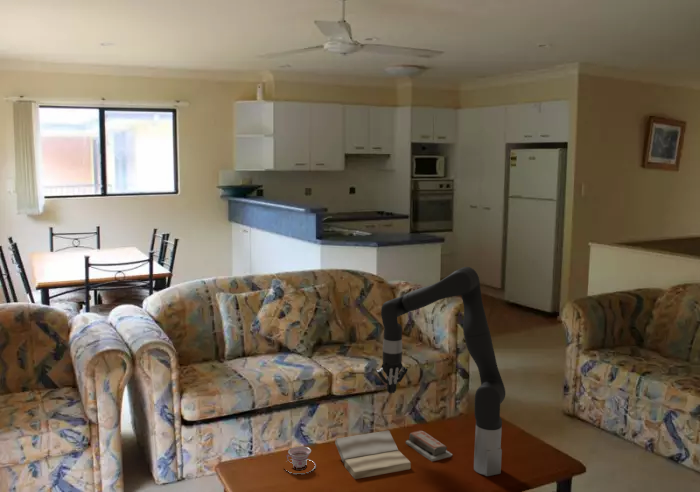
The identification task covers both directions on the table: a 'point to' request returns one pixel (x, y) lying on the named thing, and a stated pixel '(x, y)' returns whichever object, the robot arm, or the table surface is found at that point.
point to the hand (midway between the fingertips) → (391, 392)
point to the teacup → (299, 457)
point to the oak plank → (377, 464)
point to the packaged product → (427, 446)
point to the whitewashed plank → (365, 445)
